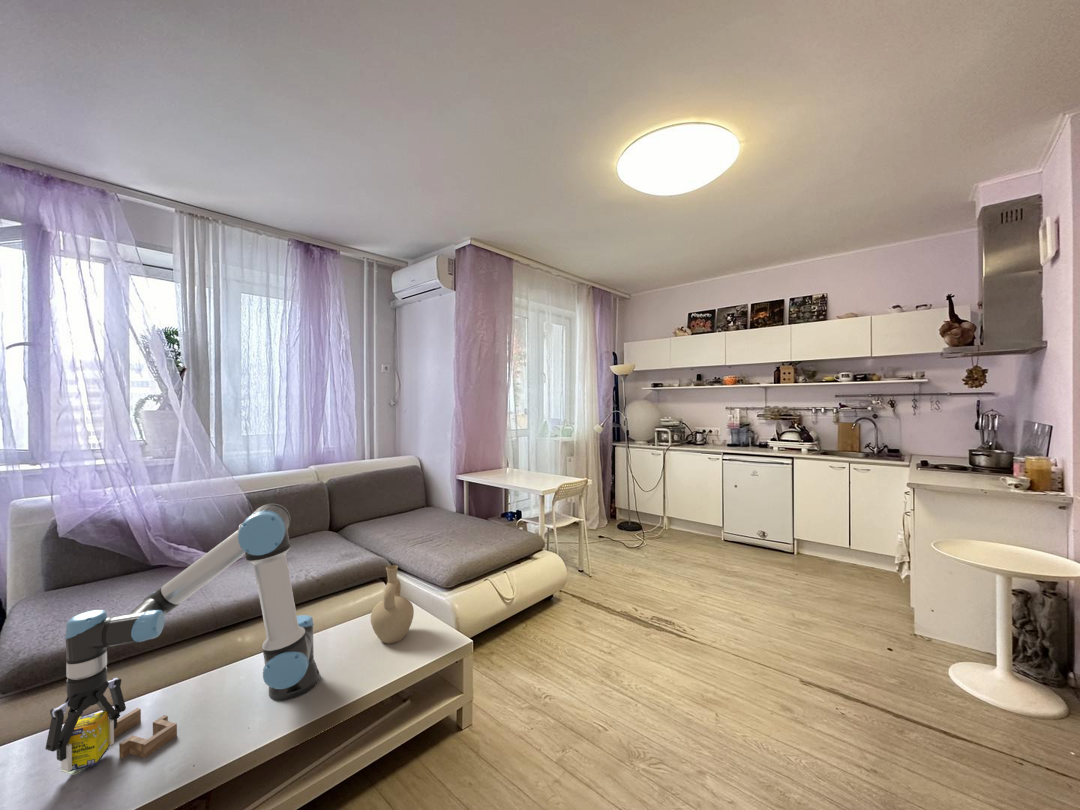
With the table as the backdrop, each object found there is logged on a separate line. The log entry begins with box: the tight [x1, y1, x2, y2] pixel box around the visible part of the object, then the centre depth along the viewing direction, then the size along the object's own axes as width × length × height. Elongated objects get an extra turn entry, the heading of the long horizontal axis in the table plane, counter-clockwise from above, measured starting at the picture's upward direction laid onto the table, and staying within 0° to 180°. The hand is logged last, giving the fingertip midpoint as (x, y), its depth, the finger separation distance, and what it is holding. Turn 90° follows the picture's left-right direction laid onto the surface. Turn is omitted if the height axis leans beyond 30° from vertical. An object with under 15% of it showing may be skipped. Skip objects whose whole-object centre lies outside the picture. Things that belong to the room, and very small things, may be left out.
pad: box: [61, 756, 104, 776], centre depth 114 cm, size 10×6×1 cm, turn 74°
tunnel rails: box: [114, 707, 178, 759], centre depth 123 cm, size 19×11×4 cm, turn 74°
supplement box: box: [68, 711, 109, 772], centre depth 114 cm, size 6×6×11 cm
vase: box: [370, 564, 415, 644], centre depth 174 cm, size 17×17×30 cm
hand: (88, 755), depth 114 cm, fingers closed on supplement box, 8 cm apart
